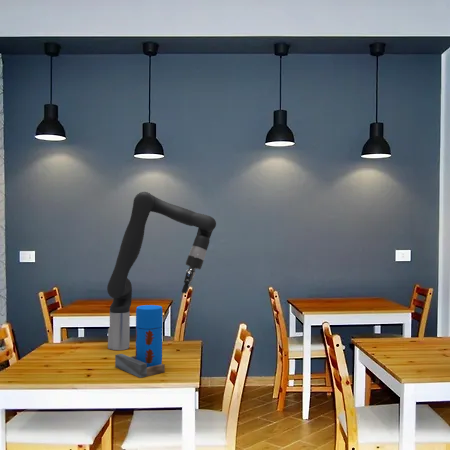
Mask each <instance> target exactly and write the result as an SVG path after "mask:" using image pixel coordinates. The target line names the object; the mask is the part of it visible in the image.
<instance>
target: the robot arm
mask: <svg viewBox="0 0 450 450" xmlns="http://www.w3.org/2000/svg"><path fill="white" fill-rule="evenodd" d="M132 202H133V203H132V208H131V214H130V220H129V222H128V224H127V227H126V229H125V231H124V234H123V237H122V240H121V243H120V247H119V250H118V254H117V258H116V261H115V265H114V268H113V270H112V273H111V275H110V278H109V280H108V283H107V287H106V288H107V291H106V292H107V294H108V296H109V297H110V298H112V299H113V300H112V303H111V304H110V306H109V328H107V349H108V350H114V351H123V350H125V351H126V350H128V349H130V335H131V334H130V330H131V329H130V328H131V327H130V324H131V323H130V321H131V320H130V316H131V312H130V311H131V309H130V308H131V305H132V299H133V298H132V295H133V287H132V283H131V280H130V279H129V278H128V277H129V273H130V270H131V269H132V267H133V266H134V265H135V264H134V263H135V262H136V261H137V259H138V257H139V255H140V252H141V248H142V246H143V241H144V237H145V236H144V235H145V230H146V224H147V222H148V218H149V215H150V213H151V212H153V213H157V214H160V215H162V216H165V217H167V218H169V219H171V220H173V221H176V222H178V223H180V224H183V225H186V226H189V227H196V228H197V232H196V235H195V238H194V240H193V243H192V245H191V246H192V247H191V248H190V250H189V253H188V256H187V258H186V261H185V265H186V266H188V267H189V268H188V269H186V271H185V276H184V281H183V287H182V290H181V292H182V293H183V294H187V293H188V291H189V286H191V285H192V282H193V279H194V277H195V276H196V274H197V273H196V270H201V269H202V267H203V264H204V262H205V259H206V255H207V251H208V247H209V246H210V239H211V236H212V234H213V231H214V230H215V228H217V227H216V226H217V221H216V219H215V218H214V217H212V216H210V215H207V214H204V213H199V212H198V213H197V212H195V211H193V210H191V209H188V208H184V207H181V206H180V205H179V206H178V205H175V204H172V203H170V202H167V201H165V200H162V199H161V198H159V197H157V196H155V195H153V194H151V193H150V192H148V191H140V192H138V193H137V194H136V195H135V197H134V198H133V201H132Z"/></svg>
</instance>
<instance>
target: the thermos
mask: <svg viewBox="0 0 450 450" xmlns="http://www.w3.org/2000/svg"><path fill="white" fill-rule="evenodd" d="M163 313H164V312H163V306H161V305H157V304H156V305H155V304H149V305H148V304H145V305H138V306H137V307H136V309H135V356H136V360H139V361H141V362H144V363H146V364H147V367H151V366H156V365H160V364H163V363H162V362H163V315H164V314H163Z"/></svg>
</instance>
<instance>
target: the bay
mask: <svg viewBox="0 0 450 450" xmlns="http://www.w3.org/2000/svg"><path fill="white" fill-rule="evenodd" d="M114 357H115V358H114V360H115V361H114V365H115V366H114V367H115V368H116V369H119V370H121V371H123V372H126V373H128V374H131V375H133V376H135V377H137V378H138V379H139V378H145V377H149V376H154V375H159V374H163V373H166V372H165V370H166V368H165V364H164V363H162V364H160V365H156V366H151V367H147V364H146V363H144V362H141V361H139V360H136V355H133V356H129V355H126V354H124V353H118V354H115V355H114Z"/></svg>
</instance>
